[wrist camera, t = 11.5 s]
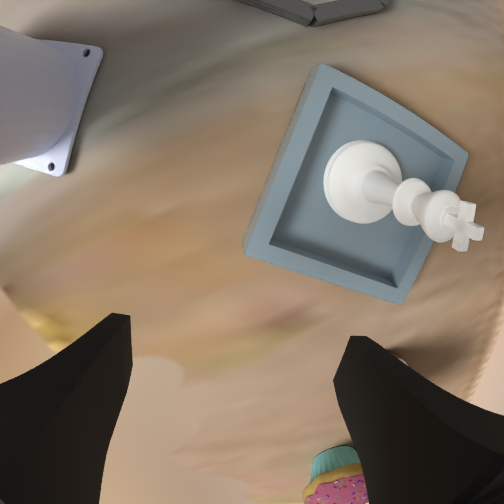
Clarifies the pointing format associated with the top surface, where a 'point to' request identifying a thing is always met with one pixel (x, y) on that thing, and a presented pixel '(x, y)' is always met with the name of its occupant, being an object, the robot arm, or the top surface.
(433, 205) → the chess piece
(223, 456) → the top surface
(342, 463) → the cupcake
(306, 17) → the collar
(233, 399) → the top surface
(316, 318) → the top surface
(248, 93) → the top surface
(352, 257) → the tray
